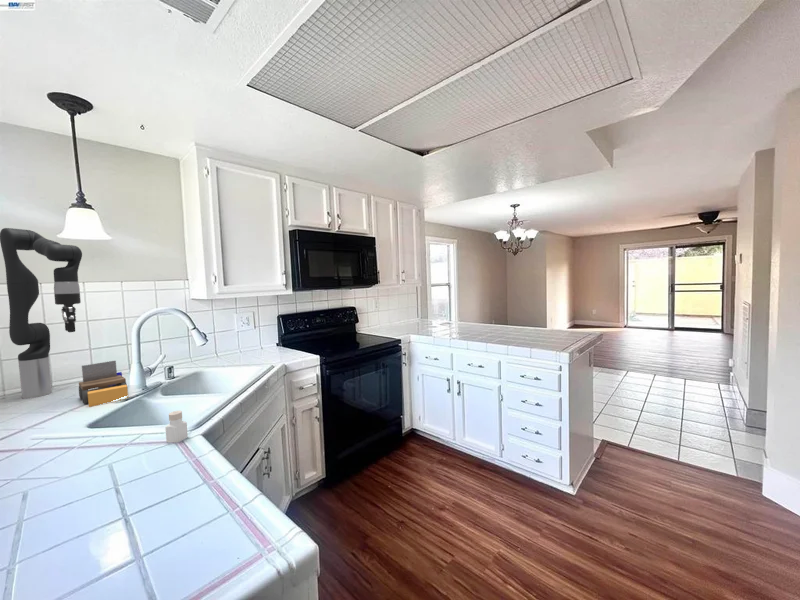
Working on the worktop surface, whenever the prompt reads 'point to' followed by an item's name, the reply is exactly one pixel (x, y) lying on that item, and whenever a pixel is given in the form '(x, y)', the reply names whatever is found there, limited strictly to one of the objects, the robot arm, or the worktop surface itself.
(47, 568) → the worktop surface
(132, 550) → the worktop surface
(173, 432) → the pepper shaker
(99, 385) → the bench with backrest
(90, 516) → the worktop surface
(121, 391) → the chock
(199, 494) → the worktop surface
